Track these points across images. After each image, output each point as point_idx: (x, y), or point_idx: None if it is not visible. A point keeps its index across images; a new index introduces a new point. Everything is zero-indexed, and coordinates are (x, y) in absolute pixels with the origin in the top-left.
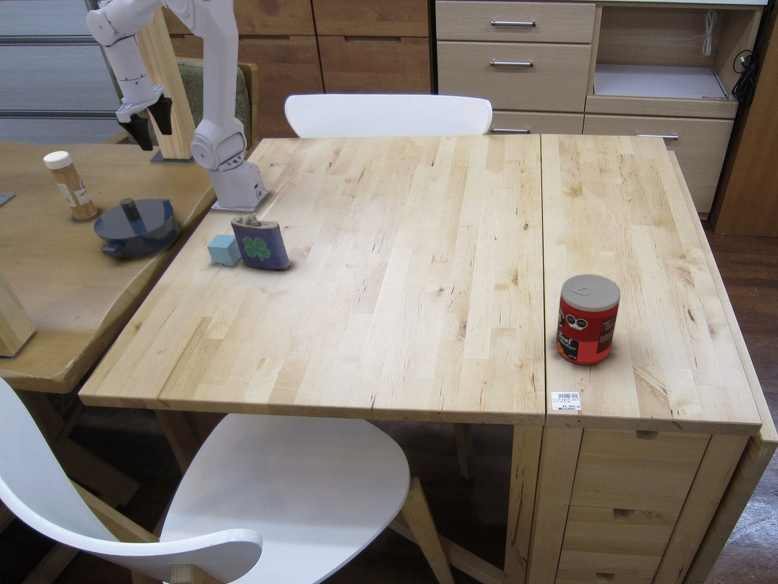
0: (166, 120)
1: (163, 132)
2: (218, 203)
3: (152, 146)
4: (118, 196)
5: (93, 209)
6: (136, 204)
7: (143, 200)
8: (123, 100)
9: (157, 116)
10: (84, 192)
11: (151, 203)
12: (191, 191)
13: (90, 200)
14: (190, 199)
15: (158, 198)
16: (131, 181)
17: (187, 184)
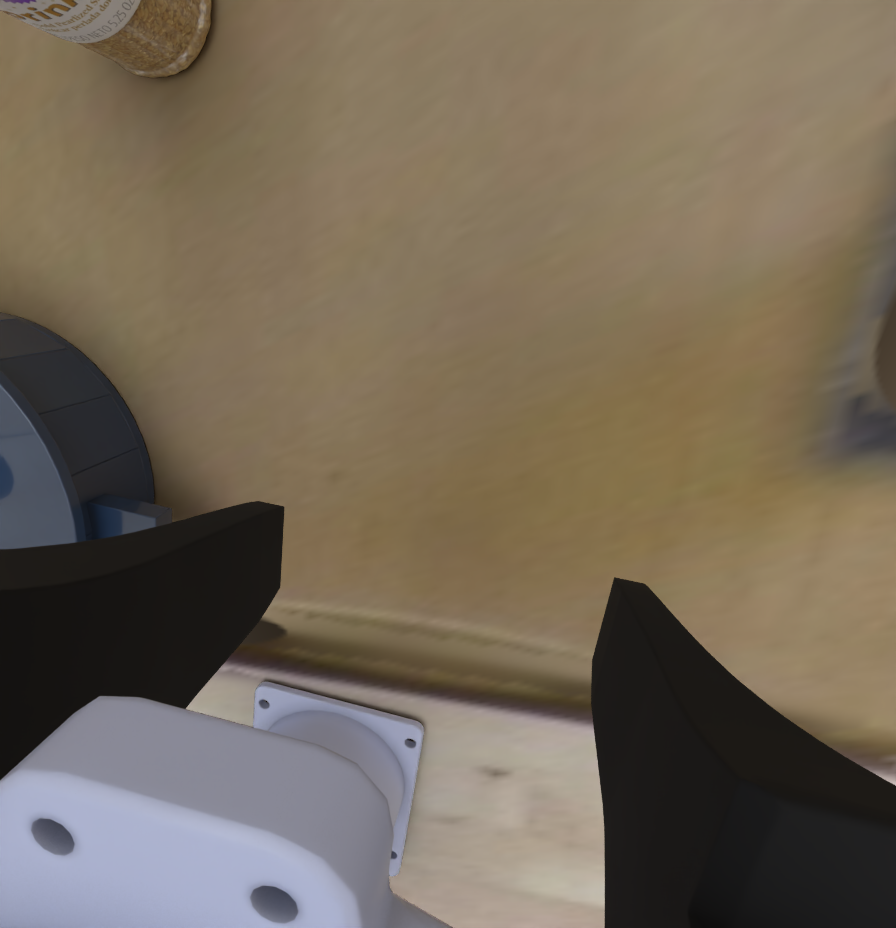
0: (611, 787)
1: (612, 611)
2: (295, 709)
3: (257, 612)
4: (391, 98)
5: (134, 63)
6: (5, 468)
7: (49, 491)
8: (4, 838)
9: (641, 741)
10: (26, 16)
11: (33, 545)
12: (439, 546)
13: (109, 39)
14: (357, 562)
15: (154, 521)
16: (607, 83)
17: (522, 502)
